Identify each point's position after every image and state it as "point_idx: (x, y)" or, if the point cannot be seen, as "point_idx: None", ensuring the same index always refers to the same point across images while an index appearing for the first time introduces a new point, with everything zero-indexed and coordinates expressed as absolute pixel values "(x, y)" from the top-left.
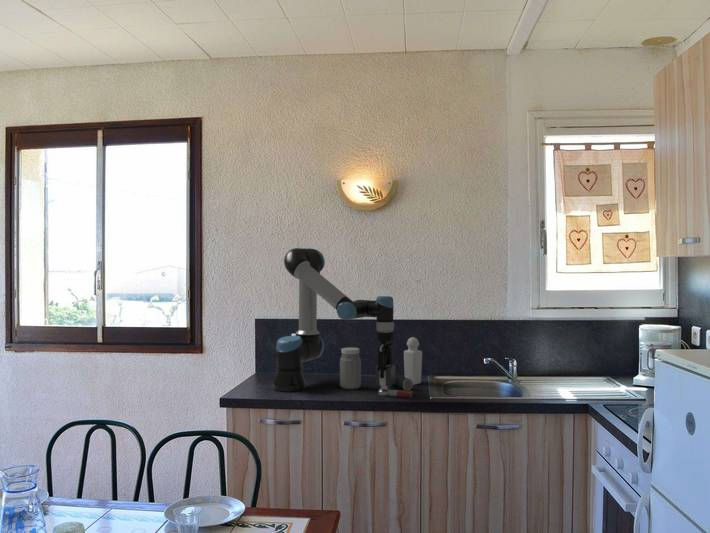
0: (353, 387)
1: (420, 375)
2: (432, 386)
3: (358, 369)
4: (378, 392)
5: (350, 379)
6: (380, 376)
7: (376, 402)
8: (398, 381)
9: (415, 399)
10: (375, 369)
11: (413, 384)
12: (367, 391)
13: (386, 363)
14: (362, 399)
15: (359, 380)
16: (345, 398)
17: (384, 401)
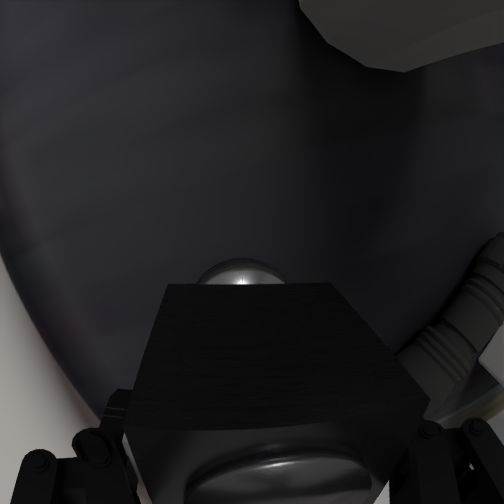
0: (316, 27)
1: None
2: (444, 426)
3: (441, 10)
4: (215, 271)
5: None
6: (110, 403)
7: (29, 309)
8: (430, 356)
9: None
10: (132, 393)
11: (478, 359)
12: (290, 150)
13: (422, 463)
14: (44, 201)
15: (388, 53)
16: (35, 82)
17: (69, 346)
